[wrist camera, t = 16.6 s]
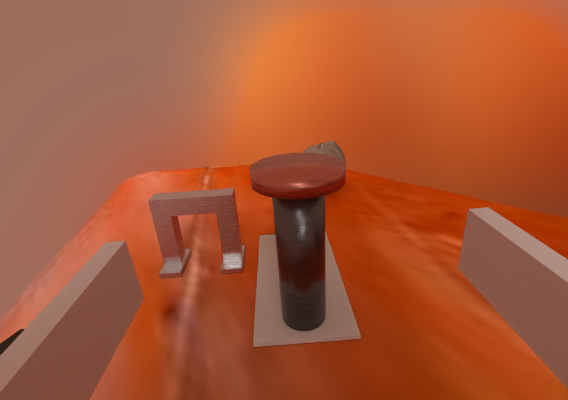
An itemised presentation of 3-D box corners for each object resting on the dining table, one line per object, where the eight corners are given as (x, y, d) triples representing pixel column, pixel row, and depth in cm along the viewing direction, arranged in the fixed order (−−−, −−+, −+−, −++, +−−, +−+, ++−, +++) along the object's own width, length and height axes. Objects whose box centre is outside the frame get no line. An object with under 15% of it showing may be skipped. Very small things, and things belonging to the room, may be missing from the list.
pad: (325, 233, 42) (325, 230, 42) (360, 338, 26) (360, 335, 26) (260, 237, 42) (259, 235, 42) (253, 347, 26) (252, 343, 26)
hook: (314, 215, 47) (312, 119, 41) (350, 342, 25) (356, 177, 20) (268, 218, 47) (259, 123, 41) (264, 348, 25) (245, 185, 20)
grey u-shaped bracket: (245, 248, 40) (237, 183, 36) (242, 272, 35) (232, 200, 32) (172, 254, 40) (157, 189, 36) (160, 278, 35) (140, 206, 32)
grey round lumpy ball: (338, 195, 60) (356, 146, 57) (335, 207, 52) (356, 150, 49) (293, 180, 62) (308, 131, 59) (283, 188, 54) (300, 132, 51)
